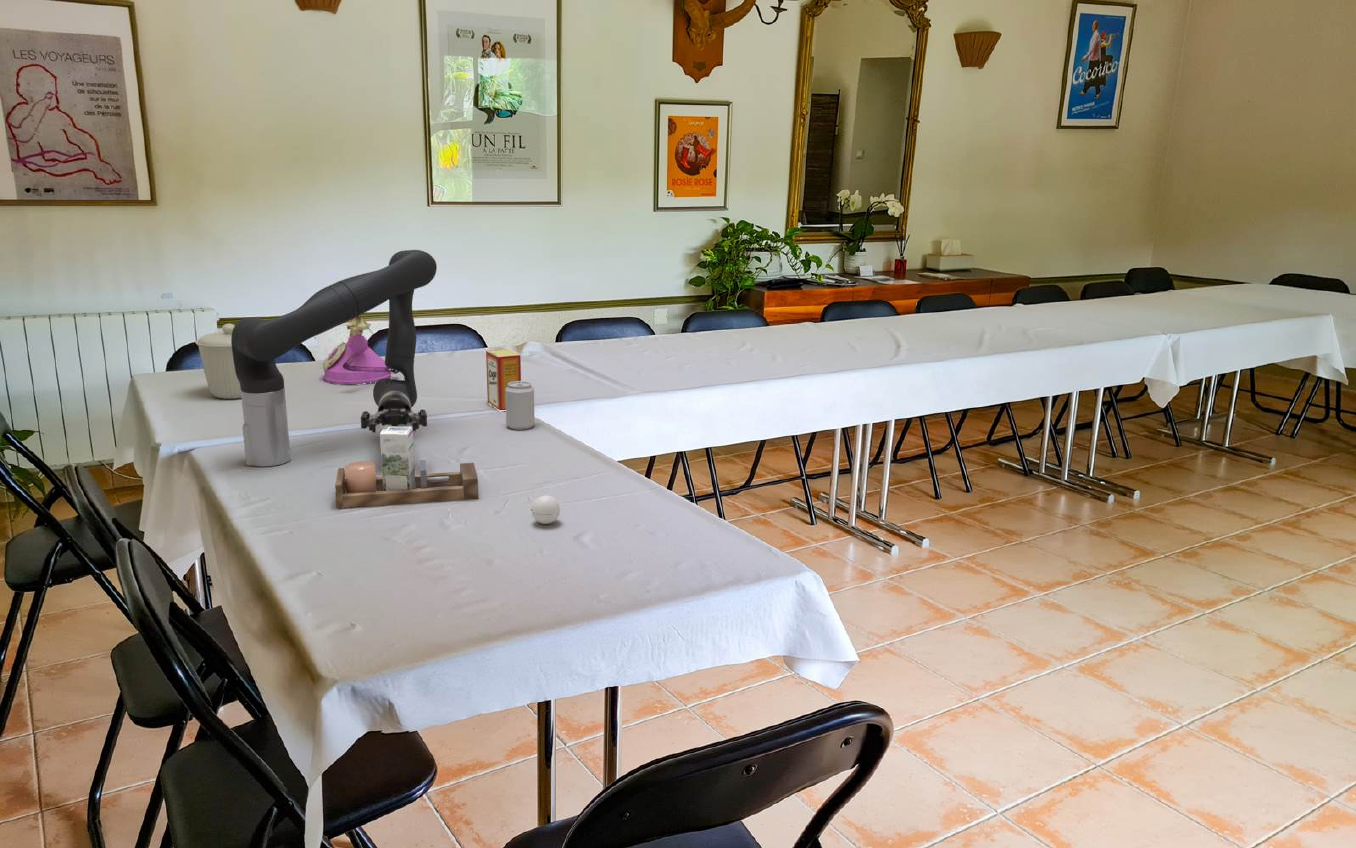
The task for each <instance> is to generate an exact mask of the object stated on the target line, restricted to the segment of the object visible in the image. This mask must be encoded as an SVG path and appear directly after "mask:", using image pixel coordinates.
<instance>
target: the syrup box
mask: <svg viewBox="0 0 1356 848" xmlns="http://www.w3.org/2000/svg"><path fill="white" fill-rule="evenodd" d="M413 432H414V431H413V427H384V428H382V430H381V431H380V433H379V442H380V456H381V457H380V458H381V460H380V461H381V473H382V474H381V475H382V476H381V477H383V490H382V491H394V490H409V489H417V488H416V485H415V475H416V473H415V472H416V471H415V459H414V458H415V456H414V451H415V450H414V433H413Z"/></svg>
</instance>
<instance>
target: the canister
mask: <svg viewBox="0 0 1356 848" xmlns="http://www.w3.org/2000/svg"><path fill="white" fill-rule="evenodd" d="M234 327H235V324H233V323H226V324H223V326H222V328H221V329H222V331H218V332H212V333H208V334H204V335H202V336H200V337H199V339H196V340H195V341H194V342H195V344H196V345H197V346H198V351H199V354H200V358H201V364H202V369H203V372H204V376H205V379H206V383H207V387H208V390H209V392H210V394H211V395H212V396H213V397H215V398H219V399H225V400H228V399H229V400H235V399H236V400H237V399H242V398H241V389H240V383H239V381H238V379H237V376H236V373H235V367H234V360H233V353H232V344H231V336H232V331H233V329H234Z"/></svg>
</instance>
